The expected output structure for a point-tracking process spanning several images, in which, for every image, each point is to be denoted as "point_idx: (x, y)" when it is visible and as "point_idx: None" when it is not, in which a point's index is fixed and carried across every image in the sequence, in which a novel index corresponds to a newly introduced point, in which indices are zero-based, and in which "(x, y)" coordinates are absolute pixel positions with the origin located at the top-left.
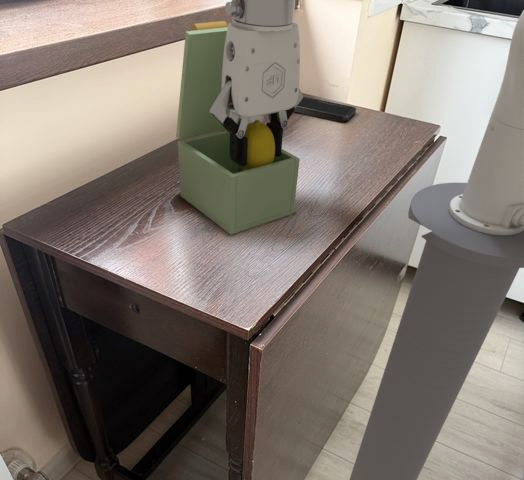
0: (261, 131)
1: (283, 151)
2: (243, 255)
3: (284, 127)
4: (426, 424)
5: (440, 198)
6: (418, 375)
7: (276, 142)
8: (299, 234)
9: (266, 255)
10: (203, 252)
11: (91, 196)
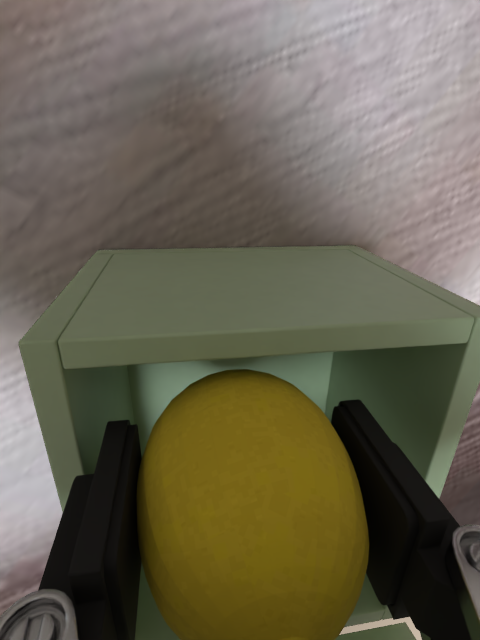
0: (300, 566)
1: (66, 451)
2: (408, 122)
3: (40, 596)
4: None
5: None
6: None
7: (129, 491)
8: (166, 115)
9: (356, 71)
10: (471, 208)
11: (457, 513)
